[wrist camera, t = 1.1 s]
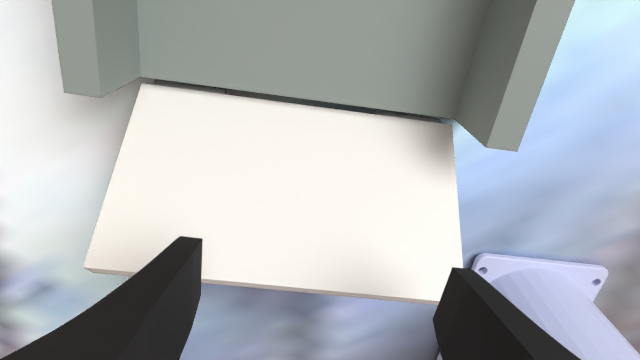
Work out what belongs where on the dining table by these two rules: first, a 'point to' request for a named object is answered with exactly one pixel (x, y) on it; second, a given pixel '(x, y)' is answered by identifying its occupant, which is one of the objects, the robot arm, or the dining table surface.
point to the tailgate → (284, 195)
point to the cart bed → (328, 52)
